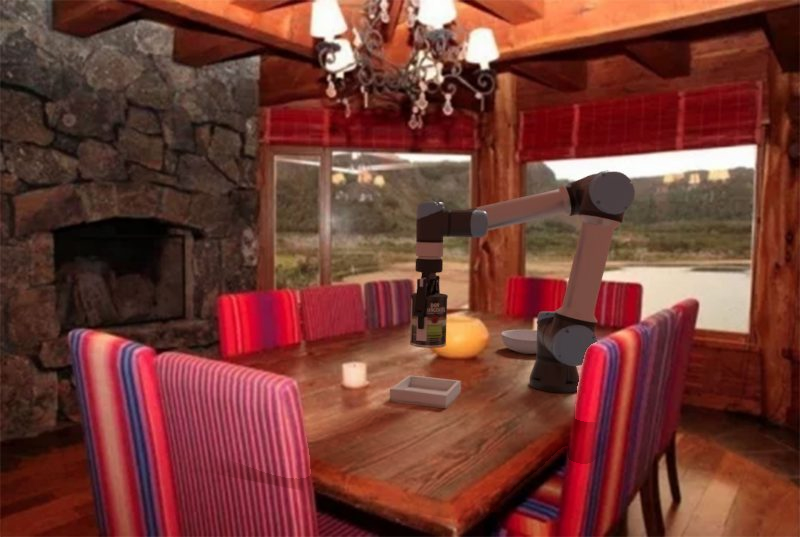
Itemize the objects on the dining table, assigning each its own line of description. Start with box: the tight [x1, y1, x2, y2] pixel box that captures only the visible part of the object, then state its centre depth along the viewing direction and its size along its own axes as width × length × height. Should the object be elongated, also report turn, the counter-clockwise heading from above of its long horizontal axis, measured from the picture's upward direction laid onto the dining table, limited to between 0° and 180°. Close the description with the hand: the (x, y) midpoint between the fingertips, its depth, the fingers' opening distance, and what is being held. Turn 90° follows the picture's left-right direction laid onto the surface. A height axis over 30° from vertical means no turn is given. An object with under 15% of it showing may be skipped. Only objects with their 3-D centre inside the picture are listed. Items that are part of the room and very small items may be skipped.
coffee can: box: [409, 292, 449, 349], centre depth 163 cm, size 10×10×14 cm
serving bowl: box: [500, 329, 537, 355], centre depth 227 cm, size 21×21×7 cm
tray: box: [389, 374, 462, 409], centre depth 164 cm, size 16×16×4 cm
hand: (427, 337), depth 163 cm, fingers closed on coffee can, 10 cm apart
